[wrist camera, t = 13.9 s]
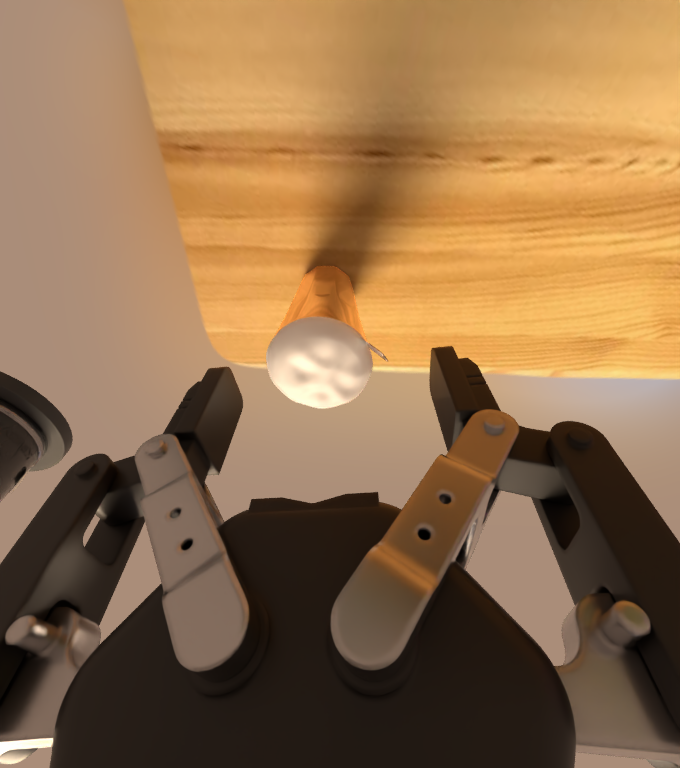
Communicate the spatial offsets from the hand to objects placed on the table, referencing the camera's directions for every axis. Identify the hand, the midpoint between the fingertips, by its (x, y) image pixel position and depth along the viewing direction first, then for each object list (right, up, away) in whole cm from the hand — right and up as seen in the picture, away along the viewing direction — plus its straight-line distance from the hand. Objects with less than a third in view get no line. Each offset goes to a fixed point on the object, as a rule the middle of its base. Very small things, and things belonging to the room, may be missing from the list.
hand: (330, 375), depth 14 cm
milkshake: (0, +6, +7) cm, 9 cm away
